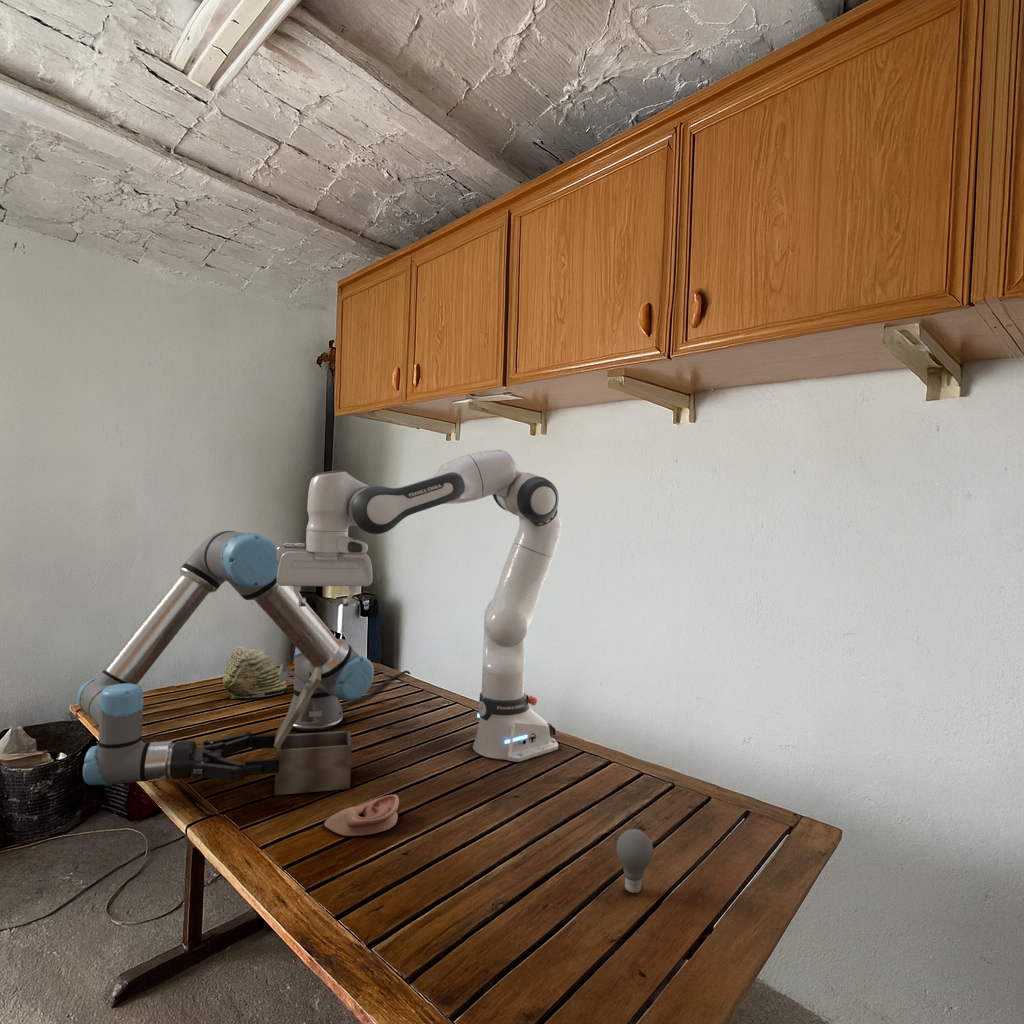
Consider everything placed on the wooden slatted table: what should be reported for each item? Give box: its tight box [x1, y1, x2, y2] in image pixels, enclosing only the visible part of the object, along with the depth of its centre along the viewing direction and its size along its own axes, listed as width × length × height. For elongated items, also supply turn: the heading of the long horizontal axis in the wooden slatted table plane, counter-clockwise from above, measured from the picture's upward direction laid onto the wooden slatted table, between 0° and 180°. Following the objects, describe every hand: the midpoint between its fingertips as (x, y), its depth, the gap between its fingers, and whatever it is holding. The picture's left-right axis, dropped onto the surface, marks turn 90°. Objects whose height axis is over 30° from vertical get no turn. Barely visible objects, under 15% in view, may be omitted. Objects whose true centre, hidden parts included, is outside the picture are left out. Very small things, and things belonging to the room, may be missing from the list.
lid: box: [274, 663, 321, 749], centre depth 138 cm, size 16×9×8 cm
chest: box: [273, 730, 353, 796], centre depth 140 cm, size 16×9×9 cm, turn 107°
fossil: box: [222, 646, 288, 699], centre depth 198 cm, size 9×18×15 cm, turn 132°
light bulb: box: [615, 828, 654, 894], centre depth 106 cm, size 6×6×10 cm
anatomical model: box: [323, 794, 400, 837], centre depth 124 cm, size 13×4×12 cm
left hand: (281, 752), depth 138 cm, fingers open, 13 cm apart
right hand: (324, 606), depth 140 cm, fingers open, 8 cm apart
